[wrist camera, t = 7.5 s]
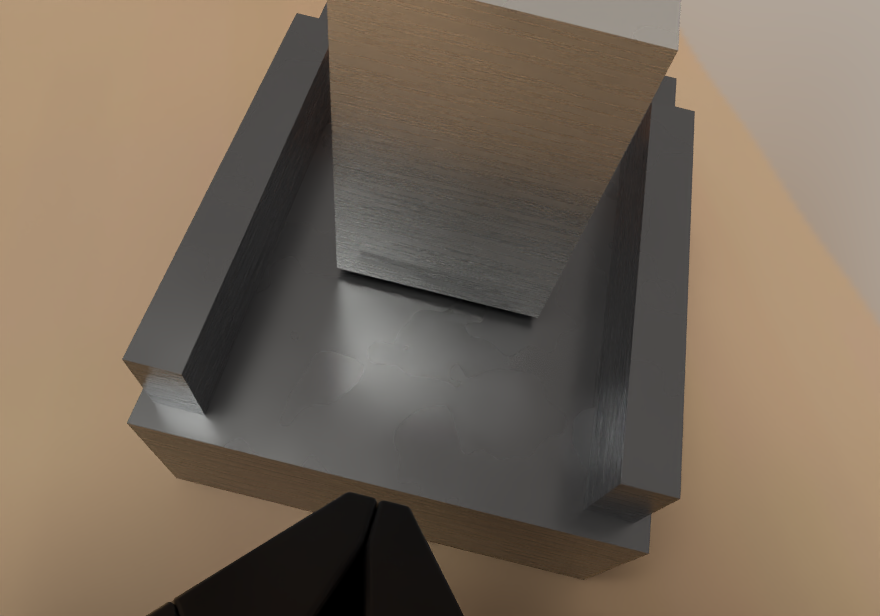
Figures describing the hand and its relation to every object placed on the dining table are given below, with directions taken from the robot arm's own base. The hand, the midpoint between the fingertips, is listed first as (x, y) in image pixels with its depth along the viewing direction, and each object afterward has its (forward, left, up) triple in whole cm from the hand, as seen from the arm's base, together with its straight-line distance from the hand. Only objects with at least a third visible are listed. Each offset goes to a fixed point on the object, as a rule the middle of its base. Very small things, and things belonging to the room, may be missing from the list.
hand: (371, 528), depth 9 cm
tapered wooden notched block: (+4, +10, -3) cm, 11 cm away
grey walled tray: (+3, +7, -7) cm, 11 cm away
